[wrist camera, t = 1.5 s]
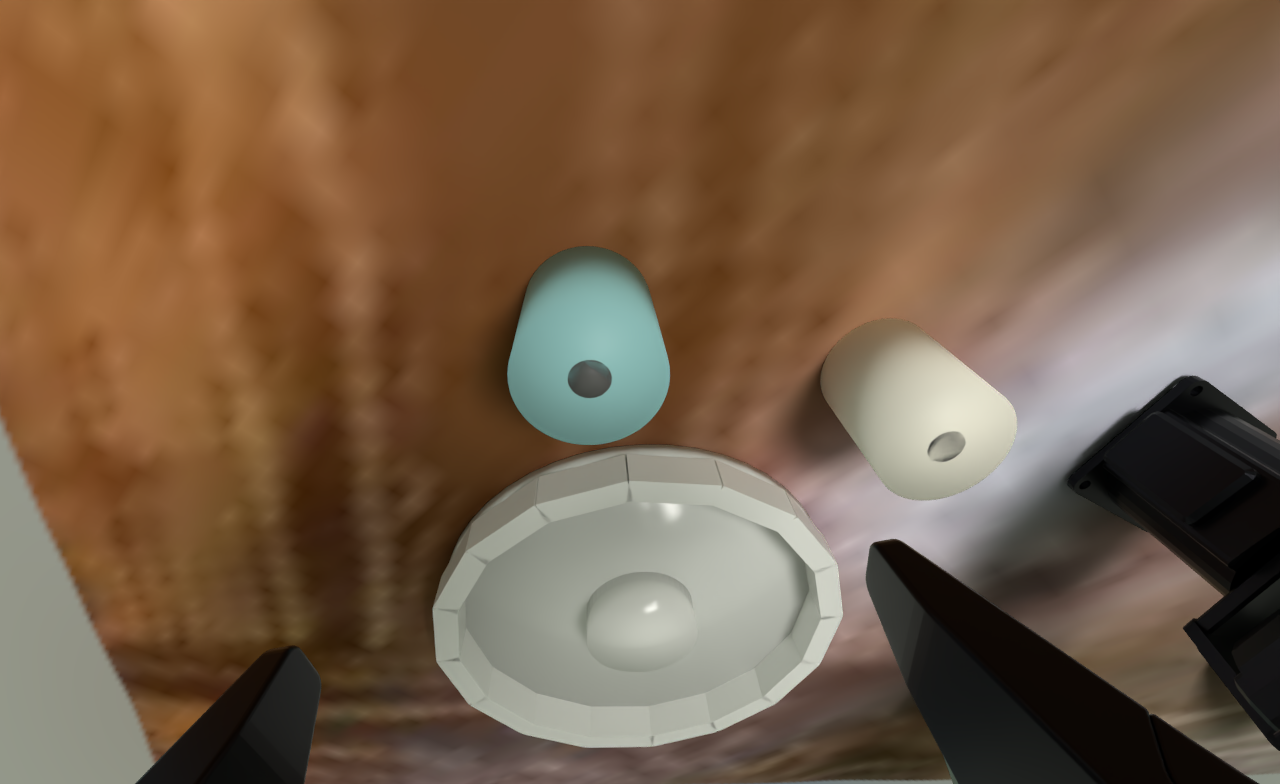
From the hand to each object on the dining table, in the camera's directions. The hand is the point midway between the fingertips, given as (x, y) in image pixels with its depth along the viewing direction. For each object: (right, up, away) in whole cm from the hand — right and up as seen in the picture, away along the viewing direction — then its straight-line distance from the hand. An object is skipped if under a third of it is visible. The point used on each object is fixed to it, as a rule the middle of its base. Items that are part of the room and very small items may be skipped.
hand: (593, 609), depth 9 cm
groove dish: (+1, -6, +19) cm, 20 cm away
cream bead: (+10, +4, +13) cm, 17 cm away
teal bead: (-1, +6, +11) cm, 13 cm away
